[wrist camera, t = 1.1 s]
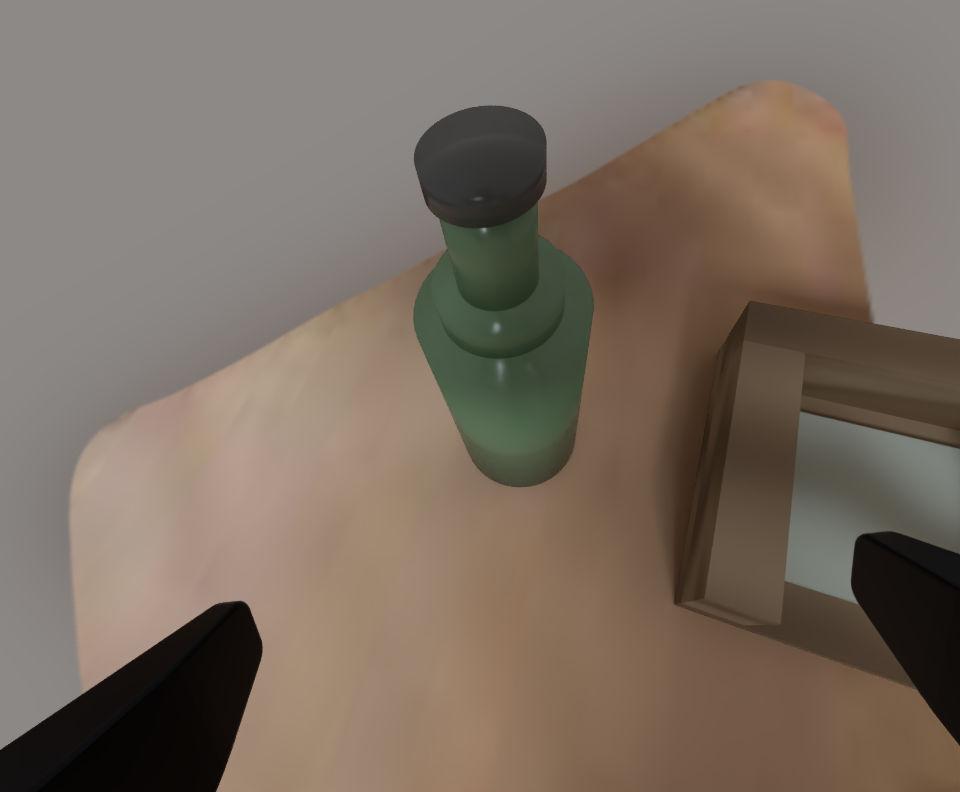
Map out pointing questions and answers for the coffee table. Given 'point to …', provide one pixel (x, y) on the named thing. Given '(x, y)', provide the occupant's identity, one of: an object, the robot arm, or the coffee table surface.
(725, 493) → the square wooden tray
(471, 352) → the bottle
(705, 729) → the coffee table surface
